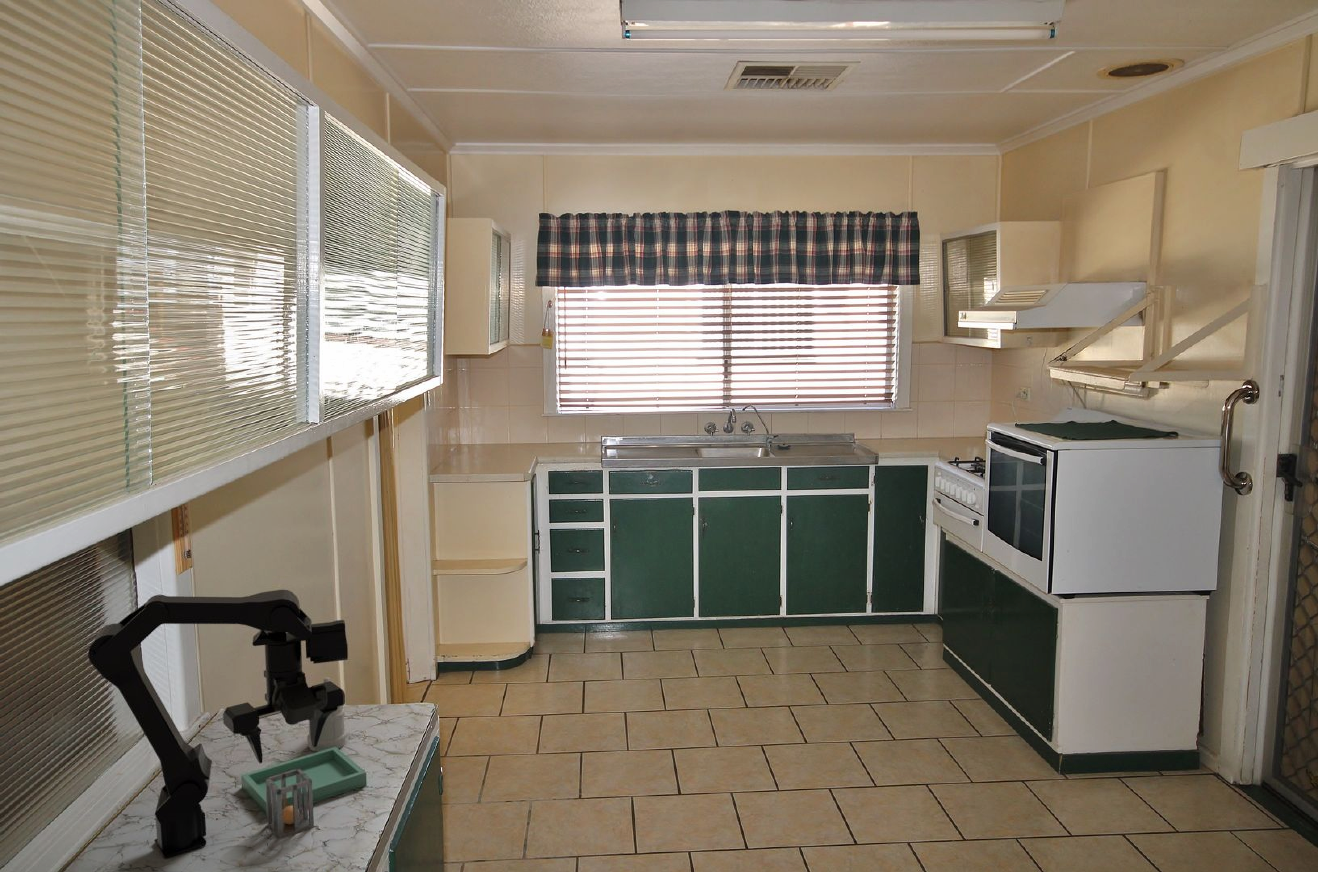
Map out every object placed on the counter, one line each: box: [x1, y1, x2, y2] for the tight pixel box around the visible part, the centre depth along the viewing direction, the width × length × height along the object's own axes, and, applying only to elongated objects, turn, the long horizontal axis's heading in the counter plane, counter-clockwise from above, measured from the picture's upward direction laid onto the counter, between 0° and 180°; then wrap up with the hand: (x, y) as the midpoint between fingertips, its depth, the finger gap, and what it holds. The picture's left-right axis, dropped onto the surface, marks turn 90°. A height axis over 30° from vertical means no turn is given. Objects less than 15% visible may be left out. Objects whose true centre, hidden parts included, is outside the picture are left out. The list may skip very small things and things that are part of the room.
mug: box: [306, 677, 348, 752], centre depth 197 cm, size 8×12×12 cm, turn 17°
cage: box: [265, 768, 315, 839], centre depth 164 cm, size 6×6×8 cm
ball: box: [282, 806, 300, 824], centre depth 164 cm, size 3×3×3 cm
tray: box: [240, 747, 368, 816], centre depth 178 cm, size 18×14×2 cm
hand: (287, 754), depth 163 cm, fingers open, 9 cm apart
